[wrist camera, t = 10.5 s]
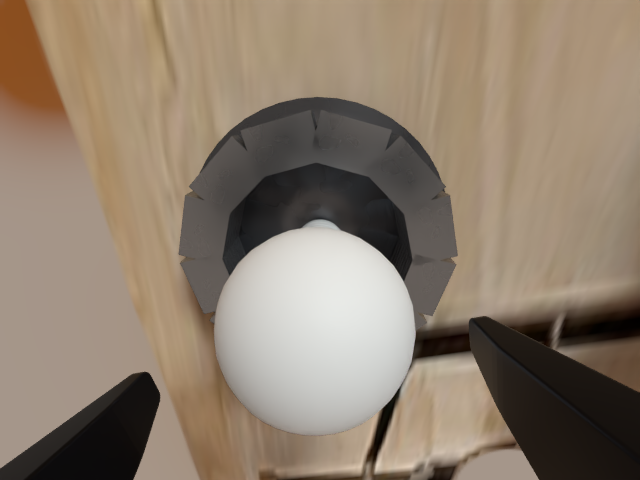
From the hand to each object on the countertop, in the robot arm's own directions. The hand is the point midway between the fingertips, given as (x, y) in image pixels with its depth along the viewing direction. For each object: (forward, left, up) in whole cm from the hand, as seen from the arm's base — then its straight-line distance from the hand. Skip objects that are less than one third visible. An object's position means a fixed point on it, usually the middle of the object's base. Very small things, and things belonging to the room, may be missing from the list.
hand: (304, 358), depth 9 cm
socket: (0, 0, -11) cm, 11 cm away
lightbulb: (0, 0, -10) cm, 10 cm away
